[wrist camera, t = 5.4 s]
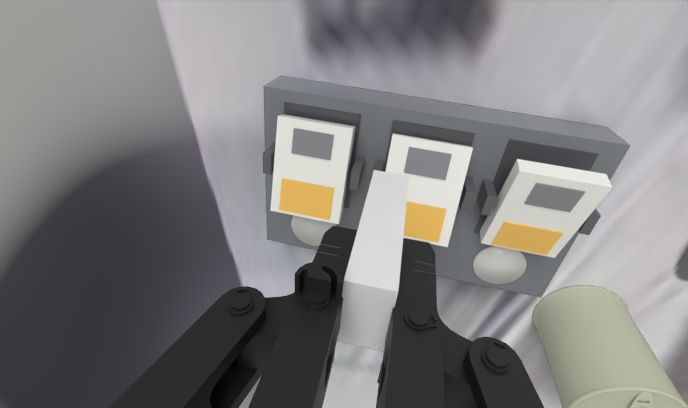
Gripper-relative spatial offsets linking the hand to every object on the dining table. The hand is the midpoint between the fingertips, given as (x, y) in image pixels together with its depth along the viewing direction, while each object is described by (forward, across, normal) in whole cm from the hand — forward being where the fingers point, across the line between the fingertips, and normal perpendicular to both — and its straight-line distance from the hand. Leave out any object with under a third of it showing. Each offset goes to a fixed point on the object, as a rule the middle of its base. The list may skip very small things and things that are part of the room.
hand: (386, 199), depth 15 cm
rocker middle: (+12, +2, -6) cm, 13 cm away
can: (+18, +23, -22) cm, 37 cm away
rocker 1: (+12, -6, -6) cm, 15 cm away
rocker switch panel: (+18, +2, -9) cm, 20 cm away
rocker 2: (+12, +12, -6) cm, 17 cm away
